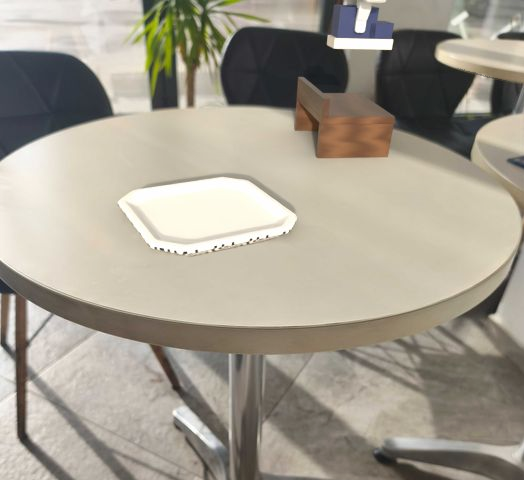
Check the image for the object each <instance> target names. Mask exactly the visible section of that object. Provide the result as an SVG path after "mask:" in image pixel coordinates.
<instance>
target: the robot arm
mask: <svg viewBox="0 0 524 480" xmlns="http://www.w3.org/2000/svg"><path fill="white" fill-rule="evenodd" d="M386 2H387V0H343V4H342V5H357V8H358V10H357V15H356V19H355V20H354V26H353V31H354V32H357V33H363V32H364V31H365V27H366V21H367V19H368V16H369V14H370V11H371V7H372V6H373V4H386Z"/></svg>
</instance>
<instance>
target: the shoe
mask: <svg viewBox="0 0 524 480" xmlns="http://www.w3.org/2000/svg"><path fill="white" fill-rule="evenodd" d="M357 10H358V8H357V5H343V4H333V11H332V21H331V29H330V34H327V41H326V45H327V46H328V47H330V48H332V49H336V50H382V51H383V50H384V51H387V50H388V51H392V49H393V44H394V39H393V38H392V37H393V33H394V27H395V23H394V22H390V21H387V20H378V18H379V12H380V7H377V6H374V5H372V7H371V11H370V14H369V16H368V19H367V21H366V27H365V31H364V32H363V33H357V32H354V31H353V26H354V20H355V19H356V15H357Z"/></svg>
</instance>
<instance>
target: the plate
mask: <svg viewBox="0 0 524 480" xmlns="http://www.w3.org/2000/svg"><path fill="white" fill-rule="evenodd" d="M117 206H118V207H119V209H120V211H122V213H123V214H124V215H125V217H126V219H128V220H129V222H130V224H132V226H133V227H134V229H136V231H137V232H138V234H139V235H140V237H141V238H142V239H143V240H144V242H145V243H146V244H147V245H148V247H149V248H151V249H153V250H156V251H160V252H164V253H168V254H169V253H170V254H174V255H180V256H185V257H192V256H193V257H194V256H200V255H204V254H209V253H213V252H219V251H223V250H228V249H232V248H238V247H241V246H246V245H252V244H256V243H261V242H266V241H270V240H273V239H275V238H278V237H281V236H283V235H284V236H285V235H287V234H289V233H290V232H291V231H292V229H294V227H295V225H296V223H297V221H298V216H297V215H296V213H294V212H293V211H291V210H290V209H288V208H287V207H285V206H284V205H283V204H281V202H279V201H277V200H276V199H275V198H273V197H272V196H270V195H269V194H267V192H266V191H263V190H262V188H259V187H258V186H257V185H256V184H254V183H253V182H251V181H250V180H247V179H242V178H234V177H228V176H227V177H226V176H219V177H212V178H204V179H199V180H191V181H184V182H180V183H179V182H177V183H171V184H164V185H157V186H150V187H143V188H136V189H133V190H131V191H129V192H128V193H127V194H125V195H124V196H122V197H121V198H120V199H119V200H118V201H117Z"/></svg>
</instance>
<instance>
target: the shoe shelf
mask: <svg viewBox="0 0 524 480" xmlns="http://www.w3.org/2000/svg"><path fill="white" fill-rule="evenodd" d="M295 100H296V102H295V115H294V128H293V129H294V131H298V132H300V131H304V132H305V131H307V132H311V131H313V132H314V131H318V132H317V141H316V142H317V143H316V151H315V157H316V158H317V159H342V158H343V159H347V158H348V159H350V158H355V159H356V158H388V157H389V152H390V146H391V141H392V136H393V130H394V126H395V121H396V116H395V115H393V114H391V112H389V111H387V110H386V109H384V108H383V107H381V106H380V105H378V104H377V103H375V102H374V101H372V99H370V98H368V97H367V96H365V95H364V94H362V93H361V92H322V90H320V89H319V88H318V87H316V85H314V84H313V83H312V82H311V81H309V79H307V78H306V77H304V76H298V77H297V89H296V99H295Z"/></svg>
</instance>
